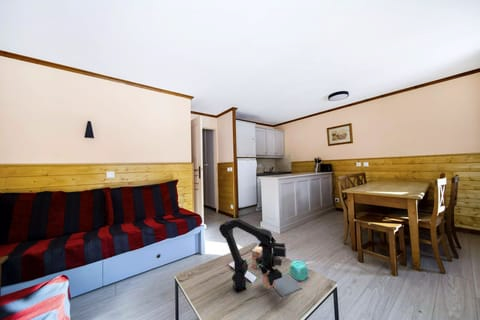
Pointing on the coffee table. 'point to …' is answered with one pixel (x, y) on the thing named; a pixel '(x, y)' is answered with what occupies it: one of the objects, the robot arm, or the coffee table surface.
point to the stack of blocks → (256, 256)
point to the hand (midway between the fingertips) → (268, 282)
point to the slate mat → (286, 285)
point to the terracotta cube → (266, 282)
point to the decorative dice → (298, 270)
